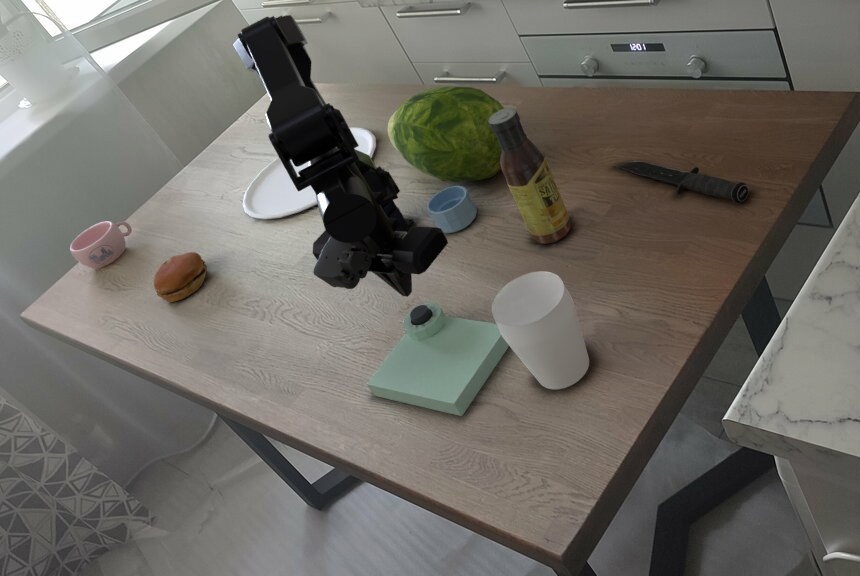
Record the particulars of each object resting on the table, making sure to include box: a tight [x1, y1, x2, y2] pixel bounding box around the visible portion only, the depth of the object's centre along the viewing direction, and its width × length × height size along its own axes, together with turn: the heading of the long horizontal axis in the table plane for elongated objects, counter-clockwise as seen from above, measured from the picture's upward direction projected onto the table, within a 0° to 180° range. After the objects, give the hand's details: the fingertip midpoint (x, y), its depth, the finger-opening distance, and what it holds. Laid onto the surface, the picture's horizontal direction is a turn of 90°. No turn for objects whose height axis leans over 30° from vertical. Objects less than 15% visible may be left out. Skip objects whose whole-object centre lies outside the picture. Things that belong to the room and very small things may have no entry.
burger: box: [152, 251, 208, 303], centre depth 150 cm, size 10×9×5 cm
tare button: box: [410, 304, 432, 326], centre depth 112 cm, size 3×3×1 cm
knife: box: [616, 160, 749, 204], centre depth 121 cm, size 24×5×3 cm, turn 35°
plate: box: [242, 126, 377, 220], centre depth 167 cm, size 29×29×1 cm
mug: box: [69, 220, 133, 270], centre depth 171 cm, size 12×10×6 cm
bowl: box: [426, 185, 478, 234], centre depth 133 cm, size 7×7×4 cm
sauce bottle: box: [489, 107, 572, 245], centre depth 117 cm, size 7×6×20 cm
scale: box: [366, 301, 510, 417], centre depth 109 cm, size 15×14×4 cm
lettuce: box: [387, 86, 505, 183], centre depth 142 cm, size 15×27×16 cm, turn 52°
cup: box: [490, 270, 590, 390], centre depth 98 cm, size 9×9×12 cm
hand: (407, 294), depth 110 cm, fingers closed
